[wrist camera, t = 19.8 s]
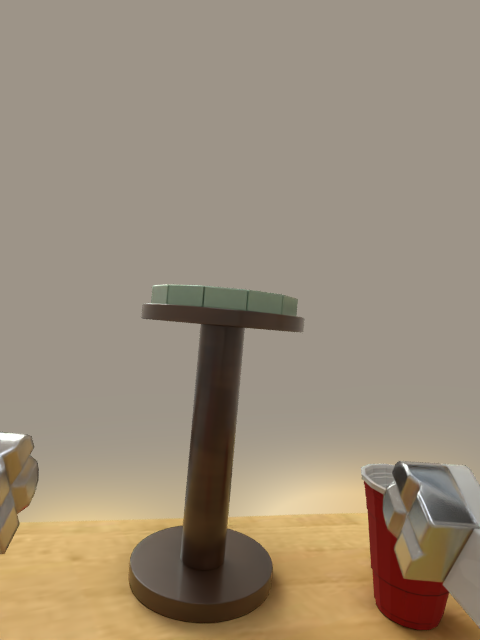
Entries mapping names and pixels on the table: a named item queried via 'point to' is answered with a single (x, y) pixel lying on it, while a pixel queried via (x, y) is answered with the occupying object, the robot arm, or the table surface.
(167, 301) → the bowl
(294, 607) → the table surface
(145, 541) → the stand
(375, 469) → the plastic cup
